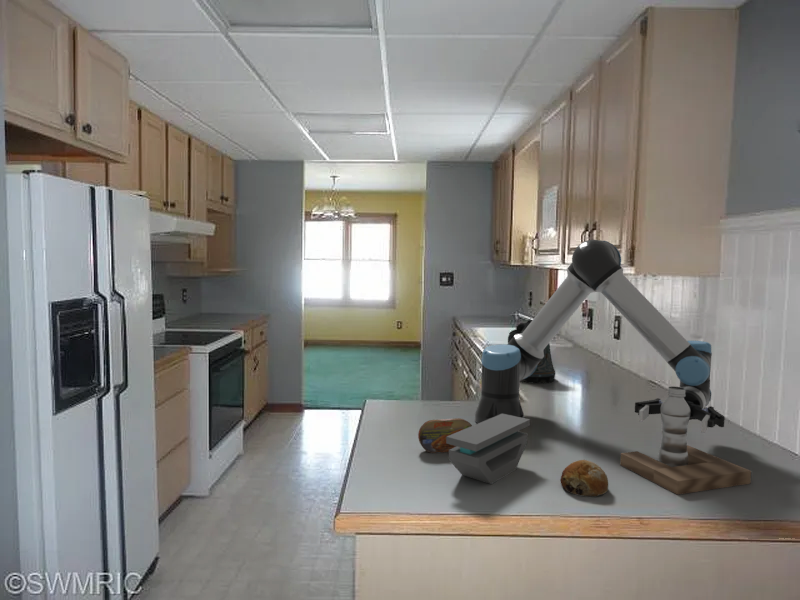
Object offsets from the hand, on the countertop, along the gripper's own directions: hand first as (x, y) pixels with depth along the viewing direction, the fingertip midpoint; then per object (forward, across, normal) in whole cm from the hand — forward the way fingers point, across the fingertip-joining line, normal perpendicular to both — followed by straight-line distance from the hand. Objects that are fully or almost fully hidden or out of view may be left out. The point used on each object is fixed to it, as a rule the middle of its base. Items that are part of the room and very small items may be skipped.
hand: (671, 421), depth 132 cm
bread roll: (+22, +13, -13) cm, 28 cm away
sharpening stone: (+27, +34, -13) cm, 45 cm away
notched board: (-1, -3, -12) cm, 13 cm away
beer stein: (-77, +69, -13) cm, 104 cm away
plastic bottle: (-3, 0, -13) cm, 13 cm away
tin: (+20, +50, -13) cm, 55 cm away
